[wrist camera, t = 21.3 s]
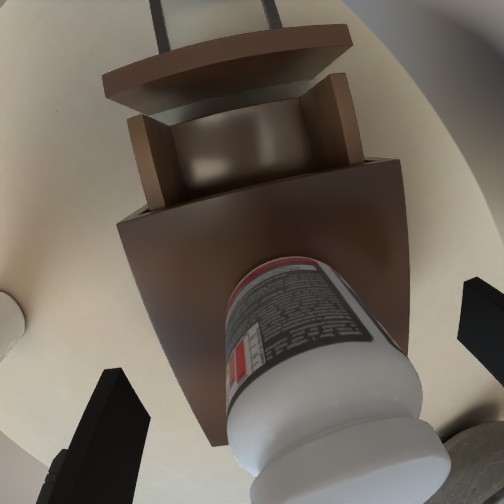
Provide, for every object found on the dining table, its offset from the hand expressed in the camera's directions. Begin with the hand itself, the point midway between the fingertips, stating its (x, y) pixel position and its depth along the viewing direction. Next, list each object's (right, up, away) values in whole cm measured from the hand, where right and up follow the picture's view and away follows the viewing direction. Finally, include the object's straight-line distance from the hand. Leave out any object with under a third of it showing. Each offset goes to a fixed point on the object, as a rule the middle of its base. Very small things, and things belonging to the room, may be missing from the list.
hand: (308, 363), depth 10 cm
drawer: (-3, +13, +9) cm, 16 cm away
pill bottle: (0, +1, +4) cm, 4 cm away
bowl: (+31, -28, +25) cm, 48 cm away
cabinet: (-1, +3, +13) cm, 14 cm away
